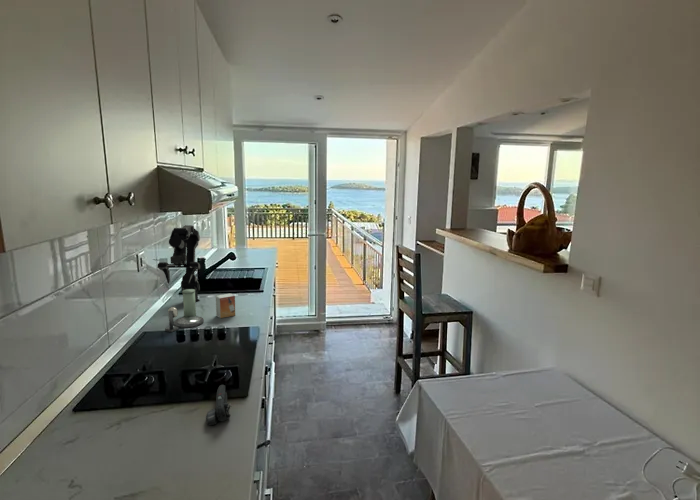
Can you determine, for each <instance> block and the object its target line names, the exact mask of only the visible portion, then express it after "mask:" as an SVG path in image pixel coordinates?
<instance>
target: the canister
mask: <svg viewBox="0 0 700 500" xmlns="http://www.w3.org/2000/svg"><path fill="white" fill-rule="evenodd" d="M181 292H182V302H183V317H189V316H197V310H196V309H197V308H196V307H197V306H196V302H195V290H194V289H186V290H183V291H182V290H181Z"/></svg>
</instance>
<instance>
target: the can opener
mask: <svg viewBox="0 0 700 500" xmlns="http://www.w3.org/2000/svg"><path fill="white" fill-rule="evenodd" d="M215 399H216V400H215V401H216V402H215V404H216V405H215V408H214V409H213V408H212V409H211V410H209V411H207V413H206V415H205V421H206V424H207V426H212V425H216V424H218V422H225V421H227V420H228V419H230V418H231V414H230V409H231V407H232V406H231V405H232V404H231V402H230V403H228V393H227V391H226V385H224V384H220V385H219V386H218V388H217V391H216V397H215Z"/></svg>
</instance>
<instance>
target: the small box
mask: <svg viewBox="0 0 700 500" xmlns="http://www.w3.org/2000/svg"><path fill="white" fill-rule="evenodd" d="M215 315H216V317H218V319H224V318H228V317H235V316H236V296H235V294H232V292H231V293H225V294H220V295H216V296H215Z"/></svg>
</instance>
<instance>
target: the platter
mask: <svg viewBox="0 0 700 500" xmlns="http://www.w3.org/2000/svg"><path fill="white" fill-rule="evenodd" d="M204 321H205V320H204V317H202V316H198V315H196V316H189V317H184V316H183V317H180V318H178V319H176V320H175V321H174V326H176V327H179V329H190V328H194V327H198V326H201V325H203V324H204Z"/></svg>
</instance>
